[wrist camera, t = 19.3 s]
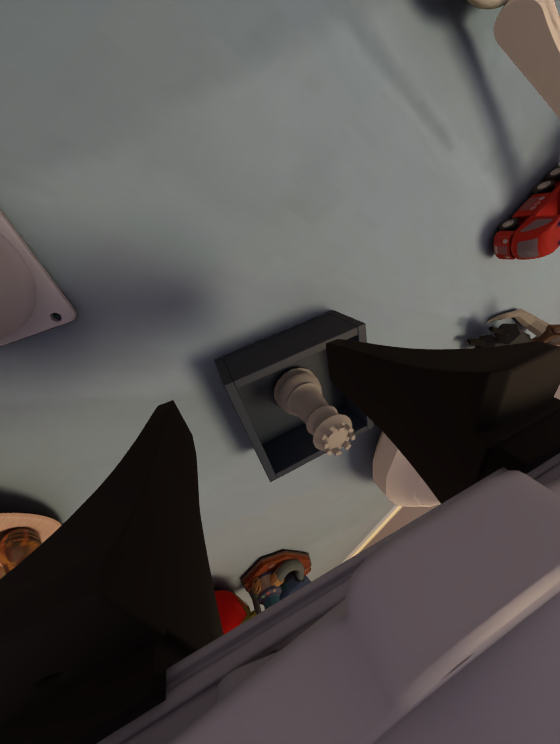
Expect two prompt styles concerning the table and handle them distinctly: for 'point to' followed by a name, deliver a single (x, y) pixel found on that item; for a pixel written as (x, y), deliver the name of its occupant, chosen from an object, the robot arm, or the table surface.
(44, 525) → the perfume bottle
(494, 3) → the saucer
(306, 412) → the rook chess piece
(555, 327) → the toy
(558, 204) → the toy fire truck
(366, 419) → the bin
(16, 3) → the table surface
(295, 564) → the model
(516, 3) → the knife
